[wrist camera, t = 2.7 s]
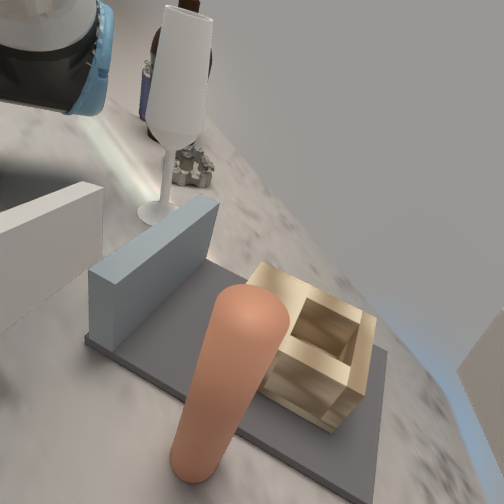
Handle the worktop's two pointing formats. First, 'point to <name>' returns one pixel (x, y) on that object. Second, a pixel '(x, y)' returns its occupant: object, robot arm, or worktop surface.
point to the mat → (260, 408)
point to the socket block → (317, 351)
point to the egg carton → (186, 163)
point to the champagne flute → (177, 94)
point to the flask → (144, 90)
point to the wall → (147, 271)
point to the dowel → (227, 376)
